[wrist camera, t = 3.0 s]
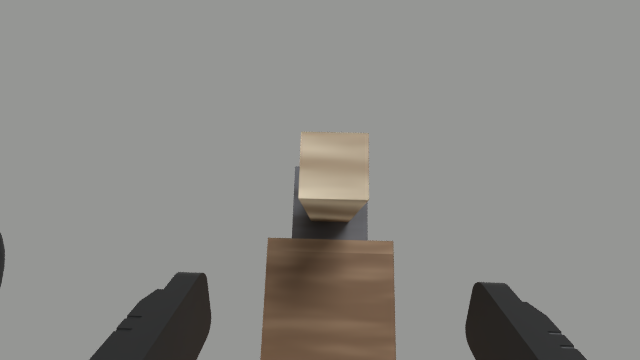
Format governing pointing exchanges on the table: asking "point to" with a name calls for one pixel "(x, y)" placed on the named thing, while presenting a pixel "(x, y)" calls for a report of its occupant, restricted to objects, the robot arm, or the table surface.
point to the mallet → (331, 186)
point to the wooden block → (329, 300)
